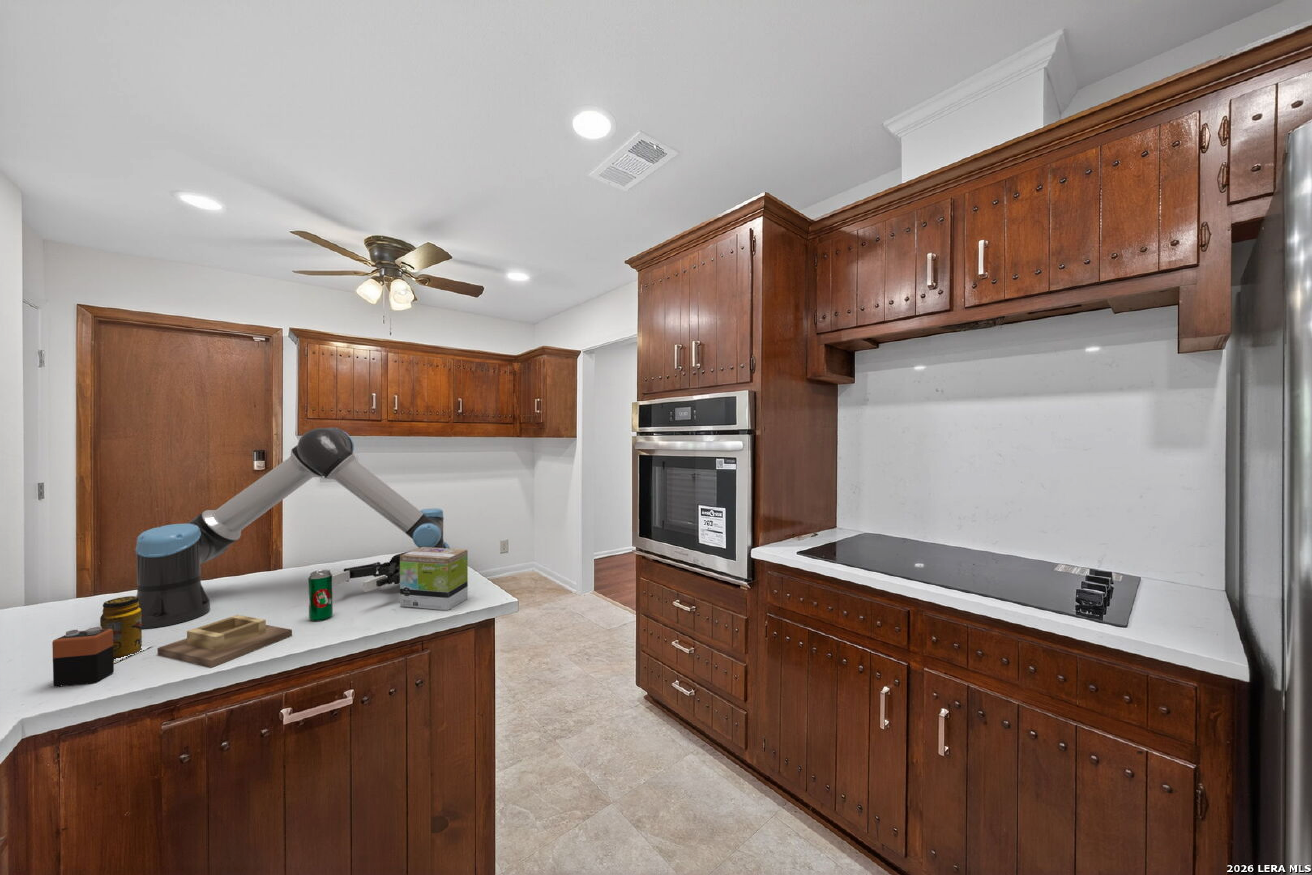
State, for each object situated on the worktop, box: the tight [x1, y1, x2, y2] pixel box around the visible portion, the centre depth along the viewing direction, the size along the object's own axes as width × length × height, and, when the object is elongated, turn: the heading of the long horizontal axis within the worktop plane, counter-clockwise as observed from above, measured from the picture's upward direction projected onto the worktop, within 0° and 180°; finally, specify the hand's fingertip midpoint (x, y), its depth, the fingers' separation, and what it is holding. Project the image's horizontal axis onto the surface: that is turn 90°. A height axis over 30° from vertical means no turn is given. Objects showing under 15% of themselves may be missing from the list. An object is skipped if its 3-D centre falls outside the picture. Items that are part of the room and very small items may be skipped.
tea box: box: [399, 547, 469, 612], centre depth 135 cm, size 15×10×15 cm, turn 81°
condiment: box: [99, 595, 148, 664], centre depth 104 cm, size 7×8×12 cm
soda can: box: [307, 569, 334, 622], centre depth 125 cm, size 5×5×12 cm
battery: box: [51, 626, 115, 687], centre depth 94 cm, size 4×7×10 cm, turn 104°
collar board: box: [156, 614, 293, 669], centre depth 109 cm, size 18×16×4 cm
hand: (345, 584), depth 131 cm, fingers open, 13 cm apart
